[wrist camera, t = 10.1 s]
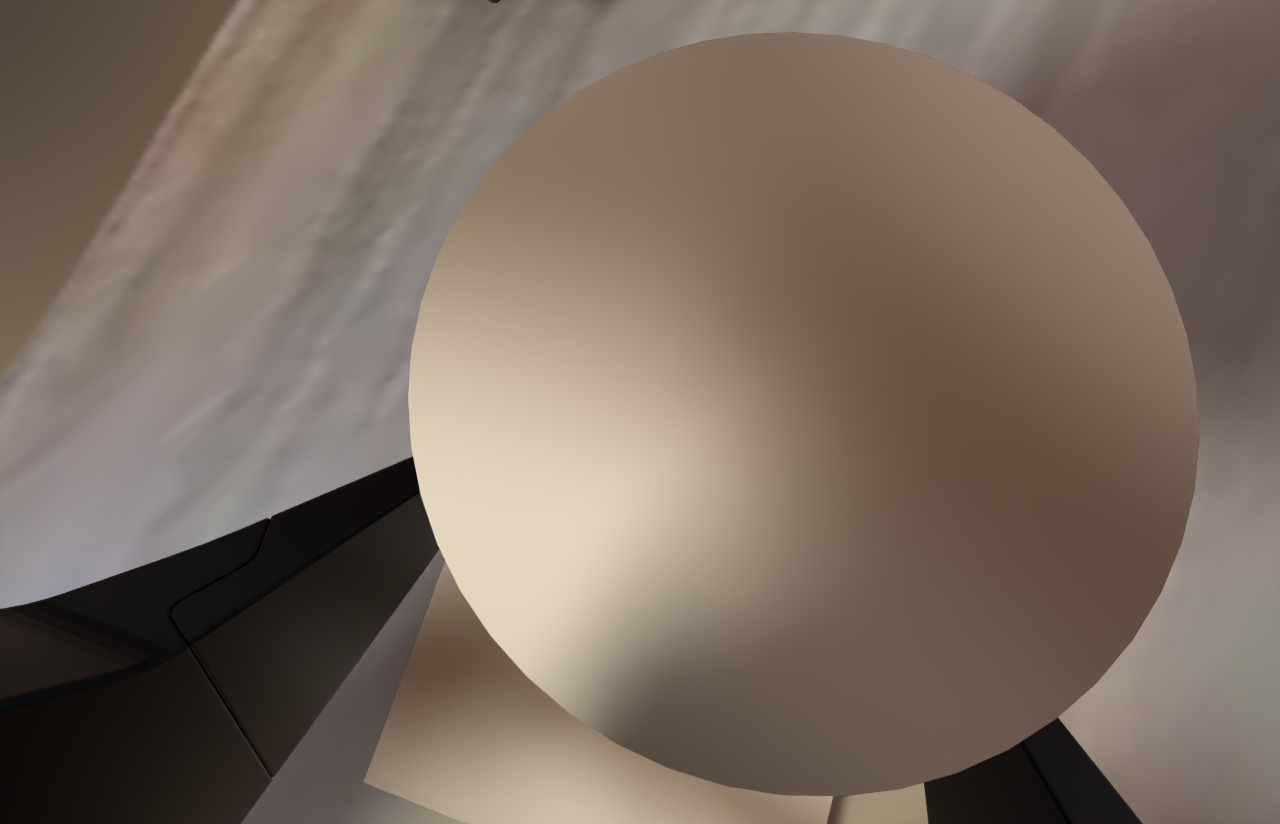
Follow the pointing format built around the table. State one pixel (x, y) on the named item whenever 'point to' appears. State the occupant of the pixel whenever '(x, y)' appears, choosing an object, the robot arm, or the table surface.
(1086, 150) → the table surface
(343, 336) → the table surface
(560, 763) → the stand board
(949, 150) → the bobbin
